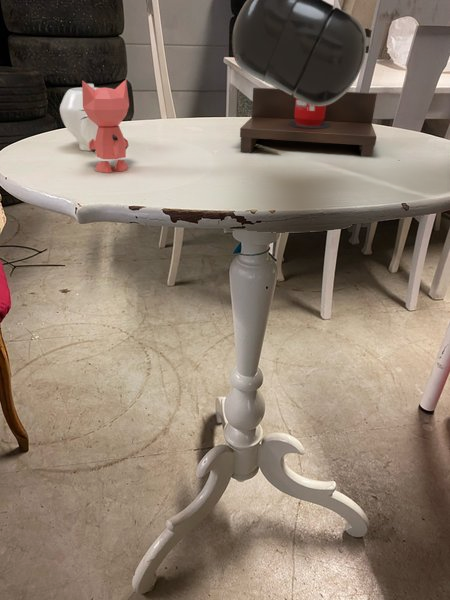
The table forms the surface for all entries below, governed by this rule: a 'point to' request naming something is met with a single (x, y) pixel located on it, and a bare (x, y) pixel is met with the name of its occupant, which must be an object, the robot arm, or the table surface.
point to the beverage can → (308, 114)
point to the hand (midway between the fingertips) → (315, 39)
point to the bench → (334, 129)
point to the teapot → (78, 117)
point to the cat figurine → (107, 123)
